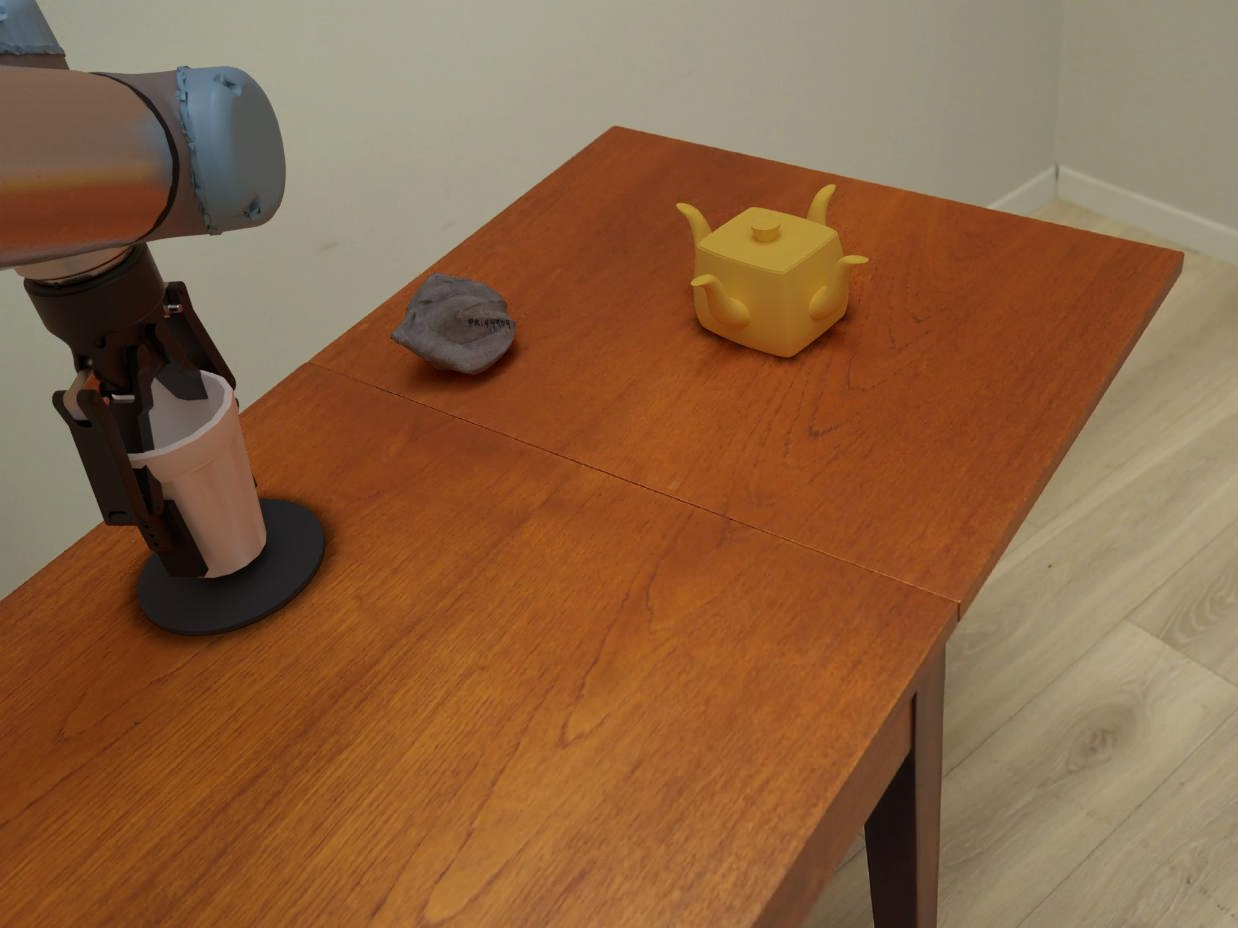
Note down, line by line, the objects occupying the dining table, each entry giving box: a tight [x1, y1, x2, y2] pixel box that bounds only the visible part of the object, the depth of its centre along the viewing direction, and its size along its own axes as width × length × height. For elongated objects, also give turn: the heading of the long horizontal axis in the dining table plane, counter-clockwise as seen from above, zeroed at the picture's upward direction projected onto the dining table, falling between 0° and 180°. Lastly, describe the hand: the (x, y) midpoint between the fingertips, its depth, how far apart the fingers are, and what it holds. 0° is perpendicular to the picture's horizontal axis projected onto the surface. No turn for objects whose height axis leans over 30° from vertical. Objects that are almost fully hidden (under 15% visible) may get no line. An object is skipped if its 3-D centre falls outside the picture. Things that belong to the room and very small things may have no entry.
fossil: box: [390, 272, 517, 376], centre depth 102 cm, size 11×9×8 cm
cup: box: [113, 370, 266, 578], centre depth 83 cm, size 10×10×13 cm
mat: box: [136, 498, 326, 636], centre depth 88 cm, size 14×14×1 cm
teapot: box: [675, 183, 869, 358], centre depth 100 cm, size 15×14×10 cm
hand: (215, 529), depth 85 cm, fingers closed on cup, 8 cm apart
